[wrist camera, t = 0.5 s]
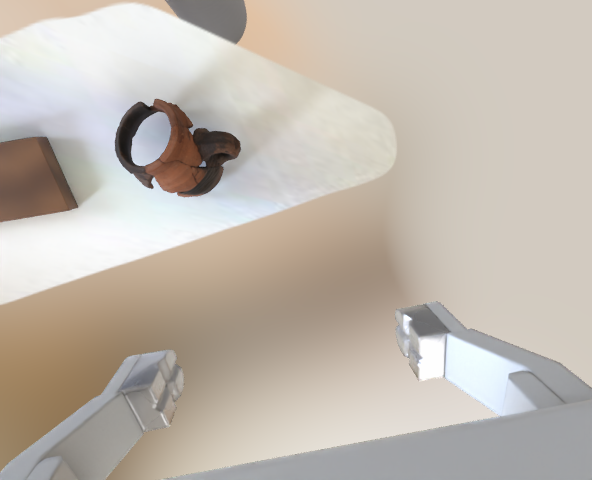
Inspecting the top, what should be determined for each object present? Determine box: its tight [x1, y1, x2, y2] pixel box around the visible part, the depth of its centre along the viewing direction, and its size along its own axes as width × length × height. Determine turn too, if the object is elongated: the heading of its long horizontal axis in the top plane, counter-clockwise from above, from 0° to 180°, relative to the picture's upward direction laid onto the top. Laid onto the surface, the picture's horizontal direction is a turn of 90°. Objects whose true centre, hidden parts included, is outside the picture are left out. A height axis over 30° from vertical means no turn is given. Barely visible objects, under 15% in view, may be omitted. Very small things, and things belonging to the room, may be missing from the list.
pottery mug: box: [115, 99, 241, 197], centre depth 29 cm, size 12×10×8 cm
